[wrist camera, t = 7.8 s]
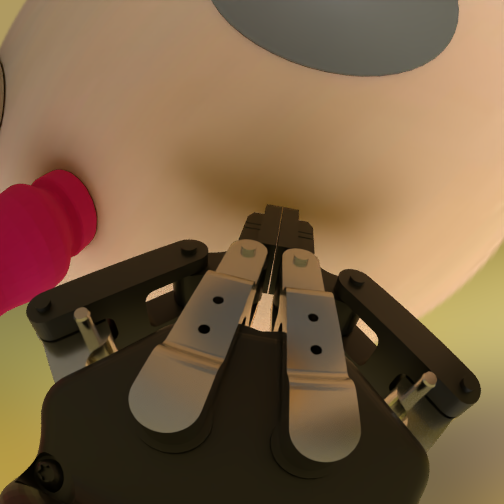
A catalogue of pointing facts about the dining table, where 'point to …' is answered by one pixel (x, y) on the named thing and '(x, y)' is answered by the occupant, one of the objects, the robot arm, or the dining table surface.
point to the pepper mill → (41, 234)
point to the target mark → (347, 32)
